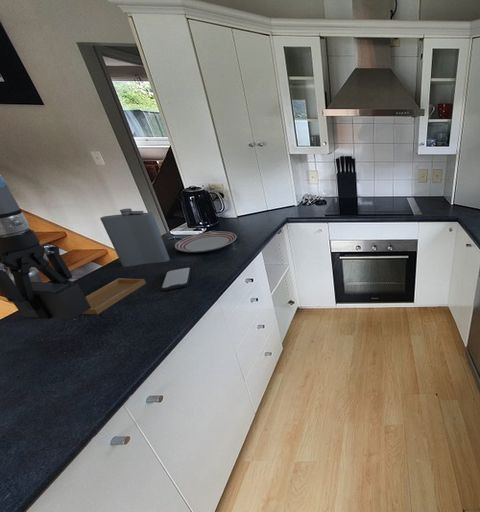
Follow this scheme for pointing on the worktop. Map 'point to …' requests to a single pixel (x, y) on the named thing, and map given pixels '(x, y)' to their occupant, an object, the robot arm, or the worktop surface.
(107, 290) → the tray
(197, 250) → the dinner plate
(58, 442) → the worktop surface
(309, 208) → the worktop surface
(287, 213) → the worktop surface
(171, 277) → the phone case
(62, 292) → the gadget
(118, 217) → the flask
